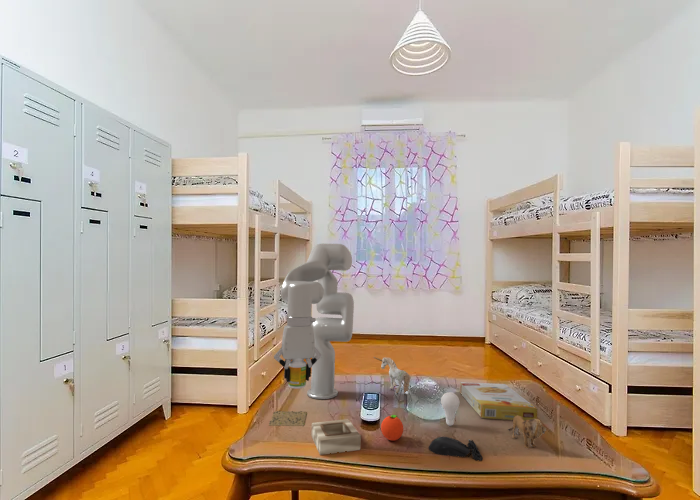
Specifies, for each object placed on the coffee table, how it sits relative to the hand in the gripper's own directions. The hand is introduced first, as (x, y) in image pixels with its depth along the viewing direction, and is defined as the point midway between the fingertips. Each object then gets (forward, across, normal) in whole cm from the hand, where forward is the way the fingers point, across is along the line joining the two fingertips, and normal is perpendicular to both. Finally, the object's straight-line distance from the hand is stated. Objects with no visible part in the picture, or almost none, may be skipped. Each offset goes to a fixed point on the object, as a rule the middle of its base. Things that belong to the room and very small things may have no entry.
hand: (297, 379), depth 115 cm
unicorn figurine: (+18, -45, -31) cm, 58 cm away
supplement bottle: (+2, 0, 0) cm, 2 cm away
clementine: (+18, -29, +9) cm, 35 cm away
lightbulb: (+18, -52, +4) cm, 55 cm away
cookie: (+18, +1, -14) cm, 23 cm away
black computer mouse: (+18, -44, +20) cm, 51 cm away
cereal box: (+18, -80, -8) cm, 82 cm away
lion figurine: (+18, -68, +21) cm, 74 cm away
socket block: (+17, -11, +7) cm, 22 cm away
